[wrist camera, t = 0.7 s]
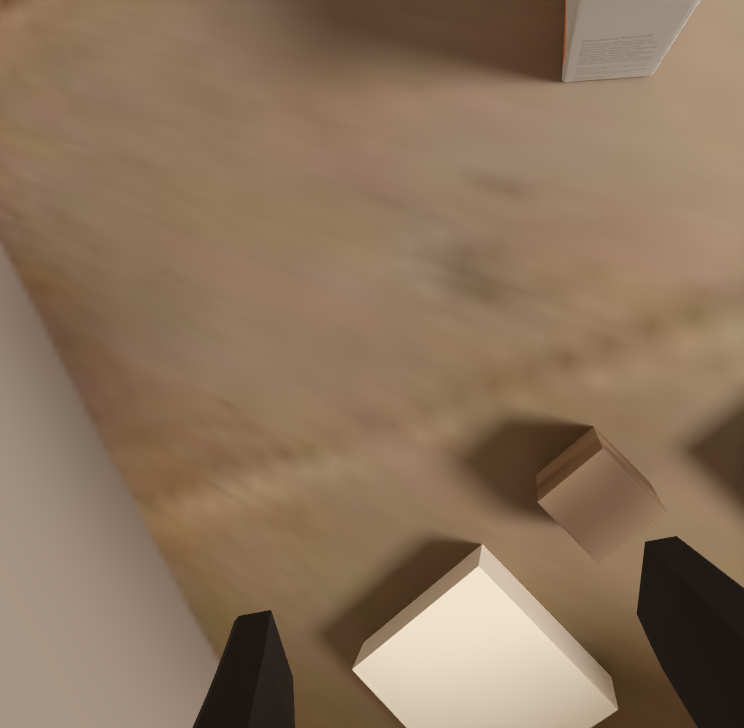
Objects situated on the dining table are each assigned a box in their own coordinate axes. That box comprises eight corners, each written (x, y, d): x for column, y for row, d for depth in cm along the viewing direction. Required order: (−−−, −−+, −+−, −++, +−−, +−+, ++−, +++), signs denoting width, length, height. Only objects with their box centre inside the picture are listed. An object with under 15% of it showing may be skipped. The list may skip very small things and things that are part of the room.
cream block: (610, 671, 33) (618, 709, 30) (480, 760, 36) (477, 803, 33) (482, 540, 34) (478, 565, 31) (365, 638, 37) (351, 669, 34)
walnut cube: (649, 481, 31) (666, 511, 27) (589, 528, 32) (597, 563, 28) (593, 425, 31) (602, 448, 27) (535, 474, 32) (537, 502, 28)
